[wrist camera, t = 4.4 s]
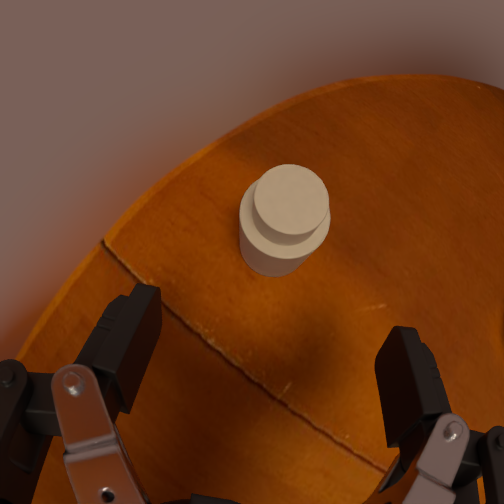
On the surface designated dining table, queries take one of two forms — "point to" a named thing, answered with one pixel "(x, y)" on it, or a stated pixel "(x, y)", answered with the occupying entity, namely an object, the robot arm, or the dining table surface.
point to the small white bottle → (283, 219)
